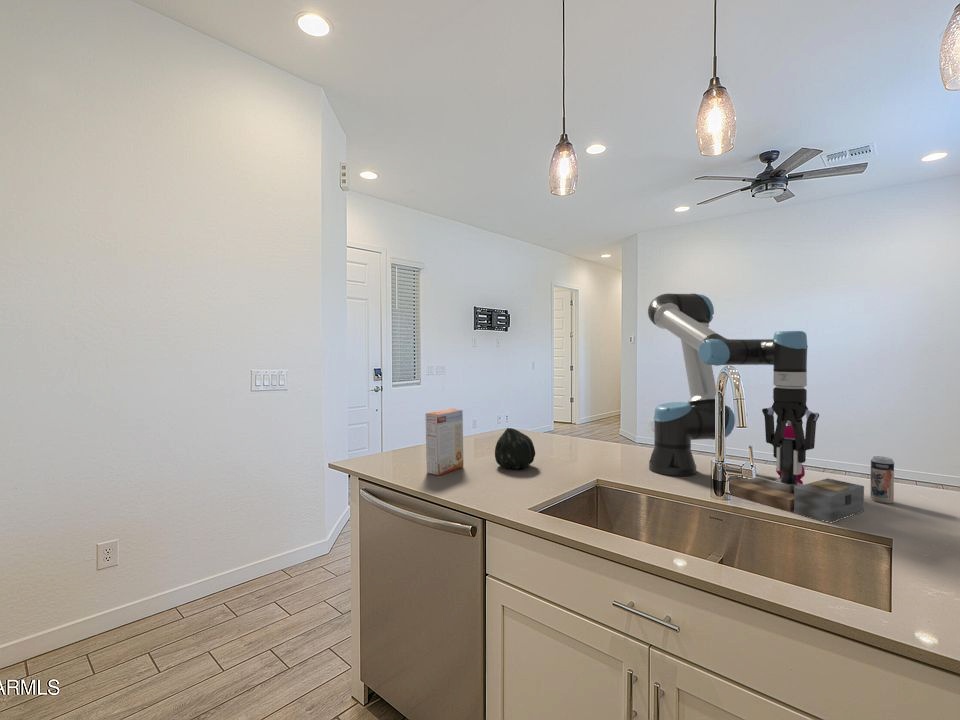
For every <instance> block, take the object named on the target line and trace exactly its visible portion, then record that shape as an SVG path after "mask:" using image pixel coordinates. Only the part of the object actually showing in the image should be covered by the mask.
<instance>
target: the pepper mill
mask: <svg viewBox="0 0 960 720" xmlns="http://www.w3.org/2000/svg"><path fill="white" fill-rule="evenodd" d="M783 438H794V439H795V436H794V431H793V426H792V425H791V422H790V421H788V422H787V423H786V427H785V432H784V437H783ZM775 472H776V474H778V476H779V477H778V478H780V479H781V471H776V470H775ZM805 474H806V472H805V468H804V464H802V474H798V475H797V483H800V484H803V485H804V483H803V482H804V481H803V480H801V479H803V478H804V477H805Z"/></svg>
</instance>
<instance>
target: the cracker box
mask: <svg viewBox="0 0 960 720" xmlns="http://www.w3.org/2000/svg"><path fill="white" fill-rule="evenodd" d="M463 411H464V410H463V409H456V408H450V409H449V408H448V409H443V410H439V411H433V412H427V413H425V445H426V446H425V449H426V451H425V452H426V453H425V455H426V458H425V459H426V473H427V475H428V474H429V475H435V476H441V475H445V474H447V473H450V472H452V471H455V470H457V469H460V468H463V467H464V423H463V422H464V421H463V420H464V419H463V417H464V415H463Z"/></svg>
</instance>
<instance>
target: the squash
mask: <svg viewBox="0 0 960 720" xmlns="http://www.w3.org/2000/svg"><path fill="white" fill-rule="evenodd" d="M494 457H495V461H496V464H498V465H499V466H500V467H502V468H505V469H507V470H509V469H512V468H513V469H514V470H519V469H526V468H528V467H529V465H530V464H532V463H533V462H534V461H535V457H536V450H535V445H534V442H533V441H532V439H531V438H530V437H529V436H528V435H527V434H525V433H523V432H521V431H519V430H517V429H515V428H512V427H506V429H505V430H504V432H503V433H502V434H501V436H500V437H499V438H498V440H497V441H496V444H495V449H494Z"/></svg>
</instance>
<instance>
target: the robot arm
mask: <svg viewBox="0 0 960 720" xmlns="http://www.w3.org/2000/svg"><path fill="white" fill-rule="evenodd" d="M714 314H715V308H714V305H713V303H712V301H711V299H710V298H709V297H707V296H706V295H705V294H701V293H700V294H699V293H663V294H662V293H661V294H659V295H658V296H655V297H654V299H652V300H651V301H650V303H649V305H648V308H647V315H648V318H649V320H650V322H651V323H652V324H653V325H655V326H656V327H658V328H659V329H663V330H667V331H669V332H670V333H671V334H673V335H674V336H676V337H677V338H679V339H680V342H681V347H682V353H683V360H684V366H685V370H686V371H685V372H686V377H687V383H688V388H689V389H688V390H689V395H690V398H689V400H688V401H687V402H686V401H676V402H675V401H674V402H673V401H672V402H671V401H670V402H664V403H661V404H658V405H657V406H656V407H655V408H654V417H653V421H654V423H653V425H654V427H653V428H654V438H653V440H654V443H653V445H654V447H653V450H652V453H651V455H650V459H649V461H648V469H649V470H650V471H651V472H653V473H657V474H662V475H666V476H675V477H686V476H687V477H689V476H693V475H696V474H697V464H696V463H695V458H694V455H693V451H692V449H691V448H692V446H691V445H692V440H693V441H694V440H697V441H699V440H712V441H713V440H716V439H715V395H716V391H717V387H716V381H715V375H714V369H713V366H714V367H715V366H716V367H717V366H735V365H736V366H737V365H738V366H744V365H746V366H752V365H753V366H754V365H755V366H760V365H761V366H763V365H765V366H773V378H772V379H773V383H772V385H773V386H775V387H774V388H773V389H772V391H773V392H772V393H773V394H772V400H773V403H772V406H771V407H765V408H762V409H761V412H762V414H763V416H764V428H765V429H764V430H765V431H764V433H765V442H766V443H767V444H770V445H772V446H773V447H772V448H773V449H772V450H773V457H774V458H776V466H775V467H776V468H775V472H776V471H781V438H783V437H784V432H785V427H786V426H787V422H788V421H790V422H791V425H792V426H793V431H794V436H795V441H796V447H797V449H796V450H794V472H793V474H794V475H798V474H802V465H803V463H806V461H807V460H806V459H807V458H806V454H807V453H806V452H807V450H808V451H809V450H813V449H814V448H815V442H816V431H817V429H816V428H817V421H818V419H819V417H820V413H818V412H813V411H811V410H809V408H808V405H807V399H808V397H807V396H808V395H807V393H808V391H807V389H806V388H805V387H807V385H808V384H807V381H808V378H807V377H808V373H807V372H808V371H807V370H808V369H807V367H808V363H807V362H808V361H807V360H808V348H809V346H808V337H807V333H806V332H805V331H802V330H784V331H775V332H774V333H773V338H771V339H770V338H768V339H767V338H763V339H761V338H760V339H758V338H755V339H754V338H752V339H748V338H747V339H738V338H737V339H733V338H732V339H730V338H726V337H724V336H723V335H721V334H719V333H718V332H715V331H714V330H713V329H711V328H709V327H710V323H711V322H712V320H713V318H714ZM724 405H725V438H727V437H728V436H729V435H731V434H732V431H733V430H734V428H735V424H736V418H735V413H734V412H733V411H734V410H732V409H731V407H730V406H728V405H726V404H724ZM775 414H776V416H777V417H776V421H775V416H774V415H775ZM804 416H805V419H806V423H805V432H804V428H803V427H804V426H803V423H804V422H803V418H804ZM775 422H776V426H775Z"/></svg>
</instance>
